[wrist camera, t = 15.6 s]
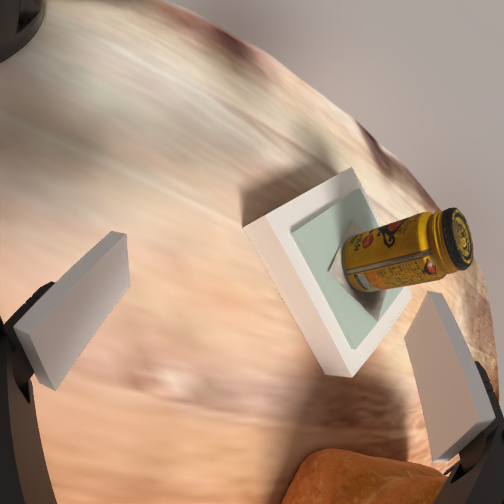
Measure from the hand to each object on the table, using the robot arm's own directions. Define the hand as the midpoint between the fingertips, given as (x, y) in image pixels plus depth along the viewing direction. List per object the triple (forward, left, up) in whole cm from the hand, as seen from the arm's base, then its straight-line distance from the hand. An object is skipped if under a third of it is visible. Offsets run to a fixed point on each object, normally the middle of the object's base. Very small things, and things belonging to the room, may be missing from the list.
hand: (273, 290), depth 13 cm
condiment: (+7, +18, -11) cm, 22 cm away
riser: (+6, +18, -15) cm, 24 cm away
